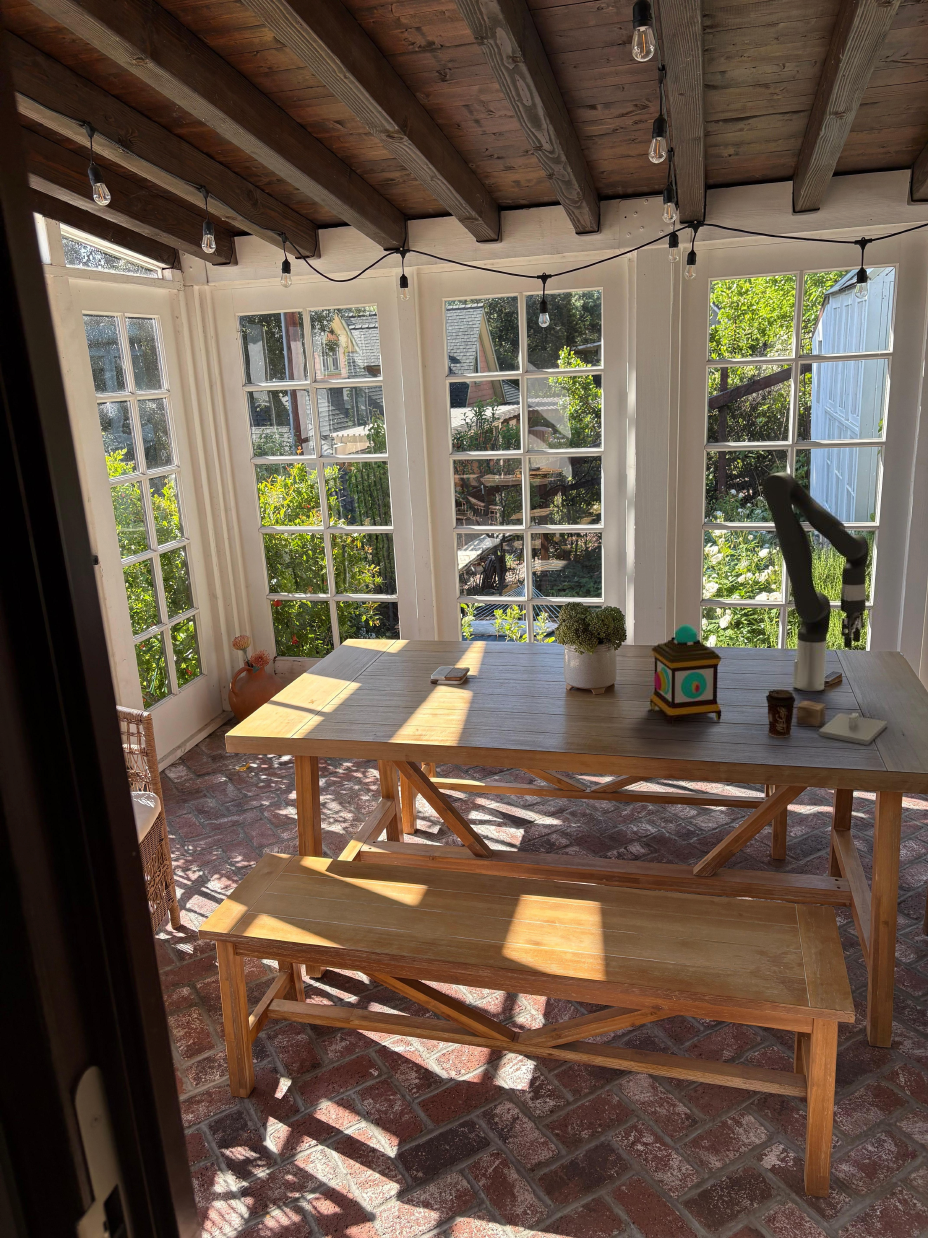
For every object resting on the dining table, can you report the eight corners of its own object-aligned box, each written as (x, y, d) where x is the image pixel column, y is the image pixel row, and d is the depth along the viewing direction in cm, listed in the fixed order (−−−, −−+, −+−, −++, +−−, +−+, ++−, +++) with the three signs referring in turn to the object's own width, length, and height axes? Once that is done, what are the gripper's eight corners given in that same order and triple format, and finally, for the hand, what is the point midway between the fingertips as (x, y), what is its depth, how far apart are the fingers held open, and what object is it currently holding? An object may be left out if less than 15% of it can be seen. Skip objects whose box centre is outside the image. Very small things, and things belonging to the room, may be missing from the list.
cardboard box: (796, 722, 281) (797, 705, 280) (803, 716, 286) (804, 700, 284) (817, 726, 277) (818, 709, 276) (824, 720, 282) (825, 704, 280)
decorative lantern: (666, 728, 282) (667, 635, 275) (644, 707, 301) (644, 619, 294) (727, 721, 285) (729, 629, 278) (701, 701, 304) (703, 614, 297)
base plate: (818, 735, 270) (818, 730, 270) (839, 717, 284) (839, 713, 283) (867, 745, 261) (867, 740, 261) (886, 726, 275) (886, 721, 274)
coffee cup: (760, 729, 277) (762, 688, 274) (788, 728, 277) (790, 687, 274) (769, 739, 269) (770, 698, 266) (797, 738, 269) (799, 697, 266)
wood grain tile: (848, 727, 271) (849, 716, 270) (852, 723, 274) (853, 712, 273) (853, 728, 270) (853, 717, 269) (857, 724, 273) (858, 713, 272)
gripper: (848, 592, 304) (847, 638, 308) (833, 600, 294) (833, 648, 297) (872, 593, 299) (870, 641, 303) (858, 602, 289) (856, 651, 293)
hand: (852, 644), depth 300 cm, fingers open, 8 cm apart
